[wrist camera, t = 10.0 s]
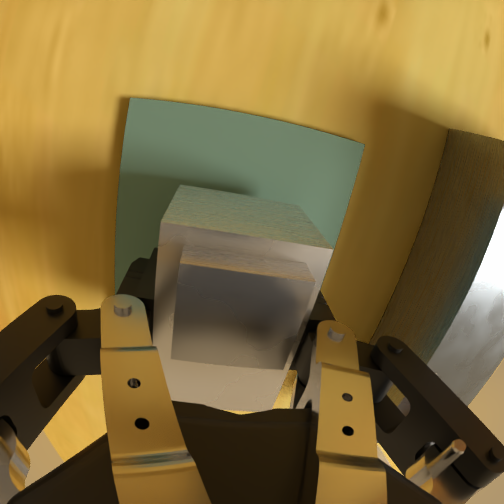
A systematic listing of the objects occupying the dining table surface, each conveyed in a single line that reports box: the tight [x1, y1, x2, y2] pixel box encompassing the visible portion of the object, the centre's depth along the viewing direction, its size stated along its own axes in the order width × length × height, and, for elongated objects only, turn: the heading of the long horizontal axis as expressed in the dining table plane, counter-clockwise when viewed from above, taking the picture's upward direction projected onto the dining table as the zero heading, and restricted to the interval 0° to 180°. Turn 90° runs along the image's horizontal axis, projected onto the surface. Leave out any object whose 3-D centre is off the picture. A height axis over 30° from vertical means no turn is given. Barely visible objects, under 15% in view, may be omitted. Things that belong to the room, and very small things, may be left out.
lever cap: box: [153, 185, 333, 412], centre depth 11 cm, size 7×4×5 cm, turn 169°
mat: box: [115, 98, 365, 295], centre depth 14 cm, size 13×10×1 cm
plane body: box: [369, 128, 504, 443], centre depth 13 cm, size 18×8×9 cm, turn 169°
